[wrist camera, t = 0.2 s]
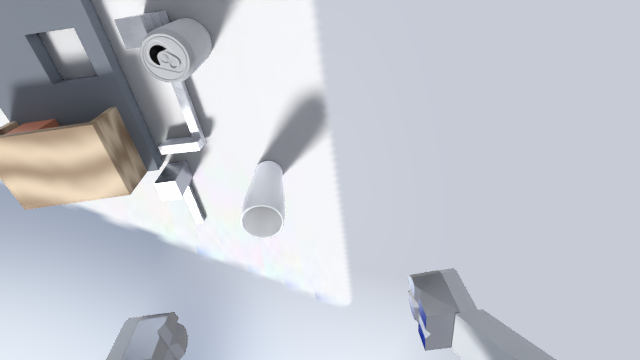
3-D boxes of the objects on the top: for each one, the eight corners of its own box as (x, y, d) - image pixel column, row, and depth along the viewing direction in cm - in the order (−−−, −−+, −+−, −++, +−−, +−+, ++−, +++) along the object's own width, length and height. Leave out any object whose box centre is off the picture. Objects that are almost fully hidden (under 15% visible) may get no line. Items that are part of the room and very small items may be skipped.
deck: (-82, -41, 42) (-102, -42, 40) (62, -63, 42) (50, -65, 40) (61, 177, 60) (53, 184, 58) (163, 162, 60) (158, 169, 58)
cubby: (10, 122, 51) (-28, 142, 45) (116, 106, 51) (91, 124, 45) (53, 184, 58) (24, 209, 52) (147, 171, 58) (130, 194, 52)
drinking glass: (245, 179, 63) (233, 231, 50) (258, 150, 60) (248, 198, 47) (278, 191, 65) (274, 243, 52) (292, 163, 62) (291, 213, 49)
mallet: (167, 163, 60) (154, 184, 54) (186, 160, 60) (174, 181, 54) (192, 220, 67) (183, 244, 61) (209, 218, 67) (201, 242, 61)
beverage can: (177, 7, 47) (145, 18, 37) (220, 33, 49) (200, 49, 39) (163, 47, 49) (129, 67, 39) (203, 70, 52) (181, 95, 42)
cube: (24, 123, 52) (0, 136, 48) (55, 118, 52) (34, 131, 47) (42, 151, 54) (21, 166, 50) (72, 146, 54) (53, 161, 50)
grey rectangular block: (114, 18, 47) (81, 25, 41) (165, 10, 46) (139, 15, 40) (169, 146, 58) (149, 166, 52) (211, 142, 57) (196, 161, 51)
